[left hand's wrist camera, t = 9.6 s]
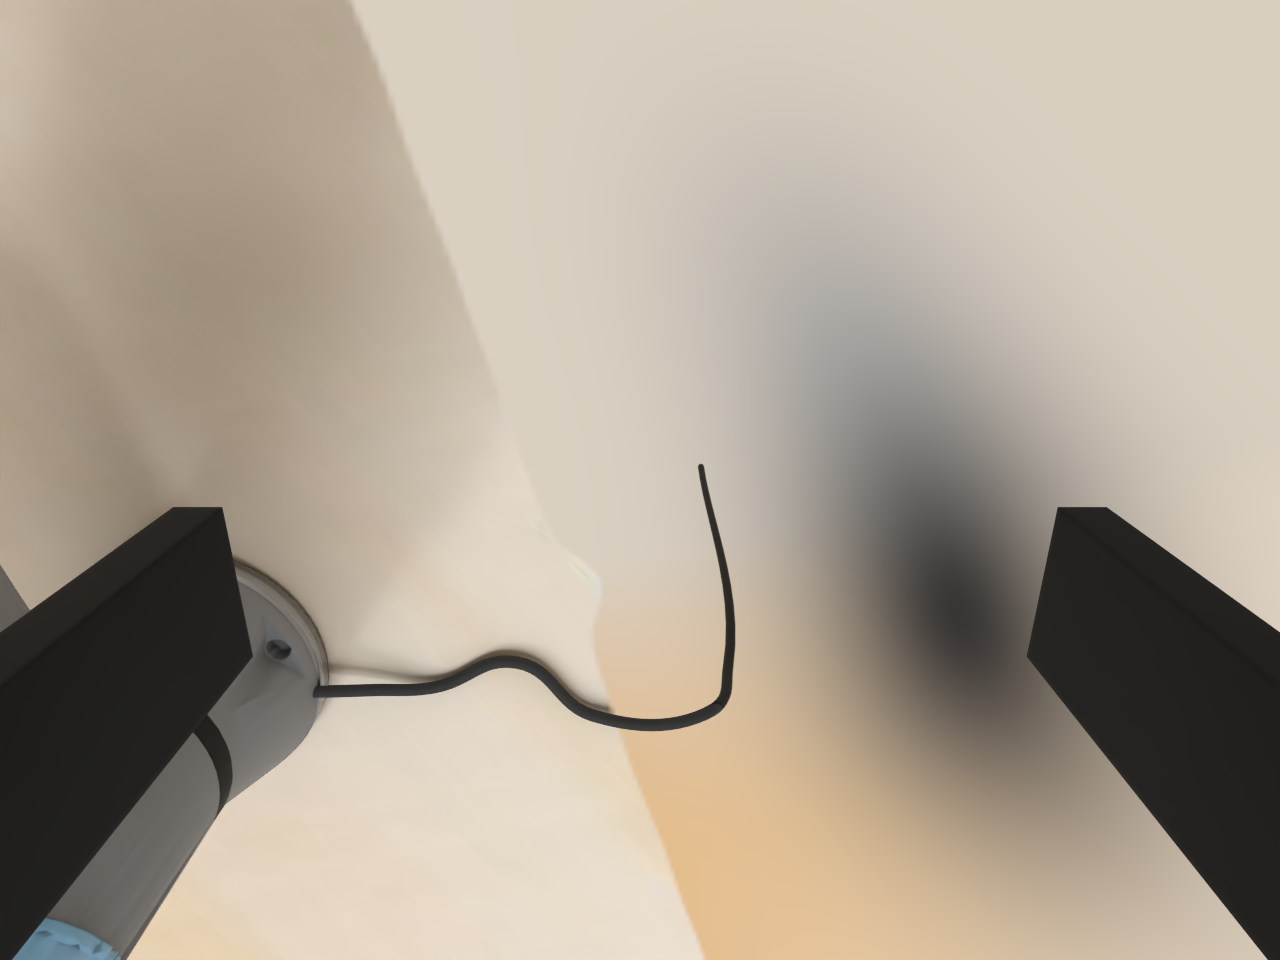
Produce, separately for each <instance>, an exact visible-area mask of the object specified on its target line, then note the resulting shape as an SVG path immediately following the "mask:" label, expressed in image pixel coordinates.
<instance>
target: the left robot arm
mask: <svg viewBox="0 0 1280 960" xmlns="http://www.w3.org/2000/svg"><path fill="white" fill-rule="evenodd" d="M698 471H699V477H700V483H701V488H702V493H703V498H704V502H705V507H706V511H707V515H708V519H709V523H710V528H711V532H712V536H713V540H714V545H715V549H716V554H717V558H718V563H719V569H720V574H721V580H722V587H723V595H724V603H725V619H726V635H725V652H724V660H723V669H722V682H721V690H720V694H719V696H718V697H717V699H716V700H715V701H714V702H713V703H711V704H710V705H708V706H706V707H704V708H703V709H700V710H698V711H695V712H692V713H689V714H686V715H682V716H678V717H672V718H664V719H638V718H629V717H623V716H618V715H613V714H609V713H605V712H601V711H597V710H594V709H591V708H589V707H586V706H584V705H583V704H581V703H579V702H578V701H577V700H575V699H574V698H573V697H572V696H571V695H570V694H569V693H568V692H567V691H566V690H565V689H564V687H563V686H562V685H561V684H560V683H559V682H558V681H557V680H556V678H555V677H554V676H553V675H552V674H551V673H550V672H548V671H547V670H546V669H545V668H544V667H542V666H541V665H539V664H537V663H536V662H534V661H531V660H529V659H526V658H522V657H518V656H498V657H492V658H489V659H486V660H483V661H481V662H478V663H476V664H474V665H472V666H470V667H469V668H467V669H465V670H463V671H461V672H459V673H457V674H455V675H453V676H451V677H448V678H446V679H443V680H439V681H434V682H428V683H419V684H361V685H328V666H327V659H326V655H325V651H324V648H323V645H322V642H321V640H320V638H319V635H318V633H317V631H316V629H315V628H314V626H313V624H312V623H311V621H310V619H309V618H308V617H307V615H306V614H305V612H304V611H303V610H302V609H301V608H300V606H299V605H298V604H297V603H296V602H295V601H294V600H293V599H292V598H291V597H290V596H289V595H288V594H287V593H286V592H285V591H284V590H282V589H281V588H280V587H279V586H278V585H276V584H275V583H274V582H272V581H271V580H269V579H268V578H266V577H265V576H263V575H262V574H260V573H258V572H256V571H255V570H253V569H251V568H249V567H247V566H245V565H243V564H240V563H238V562H235V561H233V557H232V552H231V547H230V543H229V538H228V533H227V528H226V523H225V519H224V514H223V509H222V507H173V508H172V509H170V510H169V511H168V512H166V513H165V514H163V515H162V516H161V517H159V518H158V519H156V520H155V521H154V522H152V523H151V524H150V525H148V526H147V527H145V528H144V529H143V530H141V531H140V532H138V533H137V534H136V535H134V536H133V537H132V538H130V539H129V540H127V541H126V542H125V543H123V544H122V545H120V546H119V547H118V548H116V549H115V550H114V551H112V552H111V553H109V554H108V555H107V556H105V557H104V558H102V559H101V560H100V561H98V562H97V563H96V564H94V565H93V566H91V567H90V568H89V569H87V570H86V571H84V572H83V573H82V574H80V575H79V576H78V577H76V578H75V579H73V580H72V581H71V582H69V583H68V584H66V585H65V586H64V587H62V588H61V589H60V590H58V591H57V592H55V593H54V594H53V595H51V596H50V597H48V598H47V599H46V600H44V601H43V602H42V603H40V604H39V605H37V606H36V607H35V608H33V609H32V610H29V608H28V607H27V605H26V604H25V602H24V601H23V599H22V598H21V596H20V595H19V593H18V592H17V590H16V589H15V587H14V586H13V584H12V583H11V581H10V579H9V578H8V576H7V575H6V573H5V571H4V570H3V568H2V567H1V565H0V960H126V959H127V958H128V956H129V955H130V953H131V952H132V950H133V948H134V947H135V945H136V944H137V942H138V940H139V939H140V937H141V936H142V934H143V933H144V931H145V929H146V928H147V926H148V925H149V923H150V922H151V920H152V918H153V917H154V915H155V914H156V912H157V910H158V909H159V907H160V906H161V904H162V903H163V901H164V899H165V898H166V896H167V895H168V893H169V892H170V890H171V888H172V887H173V885H174V884H175V882H176V880H177V879H178V877H179V876H180V874H181V873H182V871H183V869H184V868H185V866H186V865H187V863H188V862H189V860H190V858H191V857H192V855H193V854H194V852H195V851H196V849H197V847H198V846H199V844H200V843H201V841H202V839H203V838H204V836H205V835H206V833H207V832H208V830H209V828H210V827H211V825H212V823H213V822H214V820H215V819H216V817H217V816H218V814H219V813H220V811H221V810H222V808H223V807H224V805H225V804H226V803H228V802H229V801H230V800H232V799H233V798H234V797H236V796H237V795H238V794H240V793H241V792H242V791H244V790H245V789H246V788H248V787H249V786H250V785H252V784H253V783H254V782H256V781H257V780H258V779H260V778H261V777H262V776H264V775H265V774H266V773H268V772H269V771H270V770H272V769H273V768H274V767H276V766H277V765H278V764H279V763H281V762H282V761H283V760H284V759H286V758H287V757H288V756H289V755H290V754H291V753H292V752H293V751H294V750H295V749H296V748H297V747H298V746H299V745H300V743H301V742H302V741H303V740H304V738H305V737H306V736H307V734H308V732H309V731H310V729H311V727H312V726H313V724H314V722H315V721H316V719H317V717H318V715H319V713H320V712H321V709H322V707H323V704H324V702H325V698H328V697H361V696H416V695H426V694H433V693H438V692H443V691H446V690H449V689H452V688H454V687H457V686H459V685H461V684H463V683H465V682H467V681H469V680H471V679H473V678H475V677H476V676H478V675H480V674H482V673H485V672H487V671H489V670H493V669H497V668H516V669H520V670H524V671H526V672H529V673H531V674H532V675H534V676H536V677H537V678H538V679H540V680H541V681H542V682H543V683H544V684H545V685H546V686H547V687H548V688H549V689H550V690H551V692H552V693H553V694H554V695H555V696H556V697H557V698H558V699H559V700H560V701H561V702H562V703H563V704H564V705H565V706H566V707H567V708H568V709H569V710H571V711H572V712H573V713H575V714H576V715H578V716H580V717H582V718H584V719H587V720H589V721H592V722H596V723H599V724H603V725H607V726H612V727H617V728H622V729H629V730H638V731H665V730H673V729H679V728H683V727H688V726H691V725H694V724H697V723H700V722H702V721H705V720H707V719H709V718H711V717H713V716H715V715H716V714H718V713H719V712H720V711H722V710H723V709H724V707H725V706H726V705H727V703H728V701H729V699H730V696H731V693H732V683H733V666H734V655H735V613H734V602H733V595H732V588H731V582H730V577H729V572H728V567H727V562H726V558H725V553H724V549H723V545H722V541H721V537H720V533H719V529H718V526H717V522H716V518H715V514H714V510H713V506H712V502H711V498H710V494H709V490H708V485H707V480H706V475H705V469H704V465H703V464H699V465H698ZM1027 657H1028V659H1029V660H1030V661H1031V663H1032V664H1033V665H1034V666H1035V668H1036V669H1037V670H1038V671H1039V673H1040V674H1041V675H1042V676H1043V678H1044V679H1045V680H1046V681H1047V683H1048V684H1049V685H1050V686H1051V688H1052V689H1053V690H1054V691H1055V693H1056V694H1057V695H1058V697H1059V698H1060V699H1061V700H1062V702H1063V703H1064V704H1065V705H1066V707H1067V708H1068V709H1069V710H1070V712H1071V713H1072V714H1073V715H1074V717H1075V718H1076V719H1077V720H1078V722H1079V723H1080V724H1081V725H1082V727H1083V728H1084V729H1085V730H1086V732H1087V733H1088V734H1089V735H1090V737H1091V738H1092V739H1093V740H1094V742H1095V743H1096V744H1097V746H1098V747H1099V748H1100V749H1101V751H1102V752H1103V753H1104V754H1105V756H1106V757H1107V758H1108V759H1109V761H1110V762H1111V763H1112V764H1113V766H1114V767H1115V768H1116V769H1117V771H1118V772H1119V773H1120V774H1121V776H1122V777H1123V778H1124V779H1125V781H1126V782H1127V783H1128V784H1129V786H1130V787H1131V788H1132V790H1133V791H1134V792H1135V793H1136V795H1137V796H1138V797H1139V798H1140V800H1141V801H1142V802H1143V803H1144V805H1145V806H1146V807H1147V808H1148V810H1149V811H1150V812H1151V813H1152V815H1153V816H1154V817H1155V818H1156V820H1157V821H1158V822H1159V824H1160V825H1161V826H1162V827H1163V829H1164V830H1165V831H1166V832H1167V834H1168V835H1169V836H1170V837H1171V839H1172V840H1173V841H1174V842H1175V844H1176V845H1177V846H1178V847H1179V849H1180V850H1181V851H1182V852H1183V854H1184V855H1185V856H1186V857H1187V859H1188V860H1189V861H1190V862H1191V864H1192V865H1193V866H1194V867H1195V869H1196V870H1197V871H1198V873H1199V874H1200V875H1201V876H1202V878H1203V879H1204V880H1205V881H1206V883H1207V884H1208V885H1209V886H1210V888H1211V889H1212V890H1213V891H1214V893H1215V894H1216V895H1217V896H1218V898H1219V899H1220V900H1221V902H1222V903H1223V904H1224V905H1225V907H1226V908H1227V909H1228V910H1229V912H1230V913H1231V914H1232V915H1233V916H1234V918H1235V919H1236V920H1237V922H1238V923H1239V924H1240V925H1241V927H1242V928H1243V929H1244V930H1245V932H1246V933H1247V934H1248V935H1249V937H1250V938H1251V939H1252V940H1253V942H1254V943H1255V944H1256V946H1257V947H1258V948H1259V949H1260V951H1261V952H1262V953H1263V954H1264V956H1265V957H1266V958H1267V959H1268V960H1280V632H1279V631H1277V630H1276V629H1274V628H1273V627H1272V626H1270V625H1269V624H1268V623H1266V622H1265V621H1263V620H1262V619H1260V618H1259V617H1258V616H1256V615H1255V614H1254V613H1252V612H1251V611H1250V610H1248V609H1247V608H1245V607H1244V606H1243V605H1241V604H1240V603H1238V602H1237V601H1236V600H1234V599H1233V598H1231V597H1230V596H1229V595H1227V594H1226V593H1225V592H1223V591H1222V590H1220V589H1219V588H1218V587H1216V586H1215V585H1214V584H1212V583H1211V582H1209V581H1208V580H1207V579H1205V578H1204V577H1202V576H1201V575H1200V574H1198V573H1197V572H1196V571H1194V570H1193V569H1191V568H1190V567H1189V566H1187V565H1186V564H1184V563H1183V562H1182V561H1180V560H1179V559H1177V558H1176V557H1175V556H1173V555H1172V554H1171V553H1169V552H1168V551H1166V550H1165V549H1164V548H1162V547H1161V546H1160V545H1158V544H1157V543H1155V542H1154V541H1153V540H1151V539H1150V538H1148V537H1147V536H1146V535H1144V534H1143V533H1142V532H1140V531H1139V530H1137V529H1136V528H1135V527H1133V526H1132V525H1130V524H1129V523H1128V522H1126V521H1125V520H1124V519H1122V518H1121V517H1119V516H1118V515H1117V514H1115V513H1114V512H1112V511H1111V510H1110V509H1108V508H1107V507H1058V509H1057V514H1056V519H1055V523H1054V528H1053V533H1052V538H1051V543H1050V547H1049V552H1048V557H1047V562H1046V567H1045V571H1044V576H1043V581H1042V586H1041V591H1040V596H1039V600H1038V605H1037V610H1036V615H1035V620H1034V624H1033V629H1032V634H1031V639H1030V644H1029V648H1028V653H1027Z"/></svg>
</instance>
